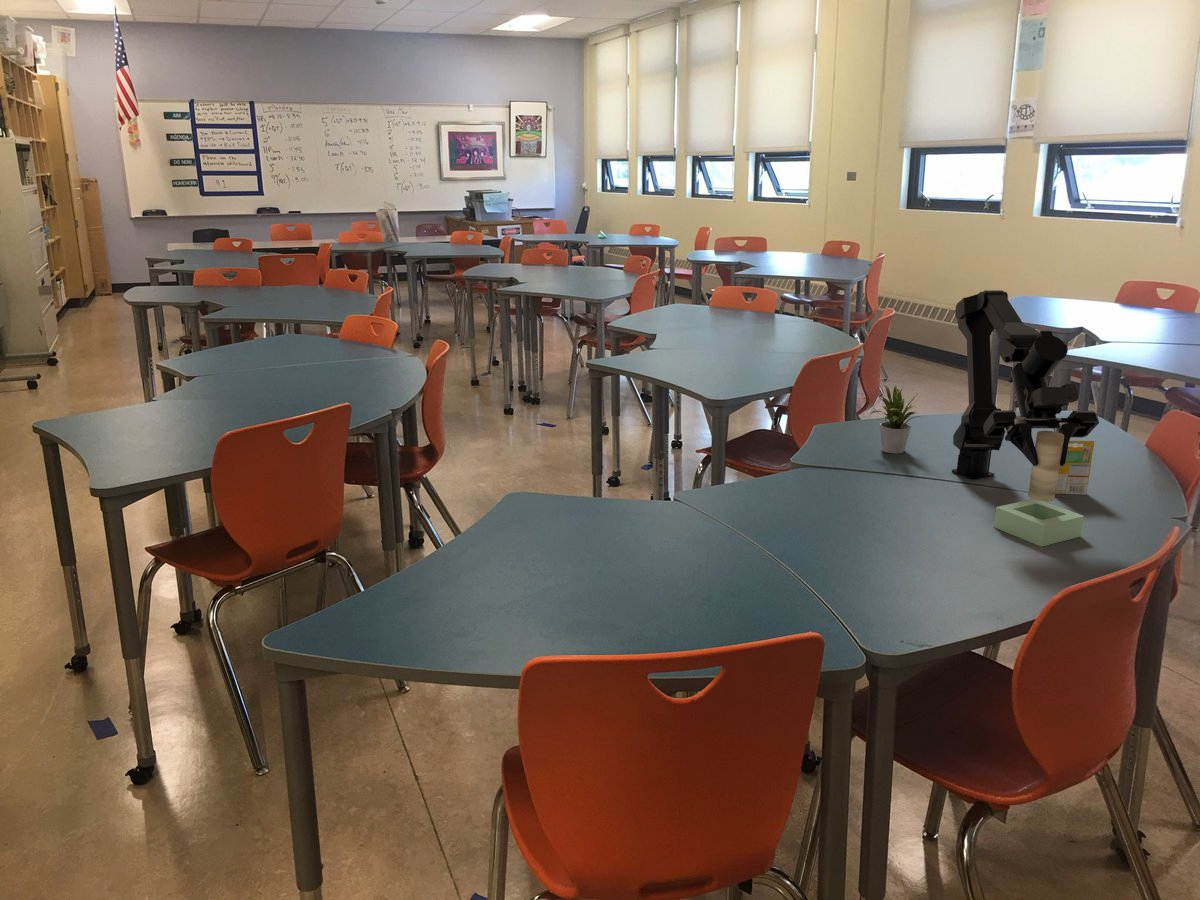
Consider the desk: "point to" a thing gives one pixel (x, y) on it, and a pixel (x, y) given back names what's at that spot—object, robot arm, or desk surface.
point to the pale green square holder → (1038, 522)
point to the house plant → (894, 422)
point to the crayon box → (1075, 469)
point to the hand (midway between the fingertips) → (1049, 465)
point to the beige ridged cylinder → (1046, 465)
